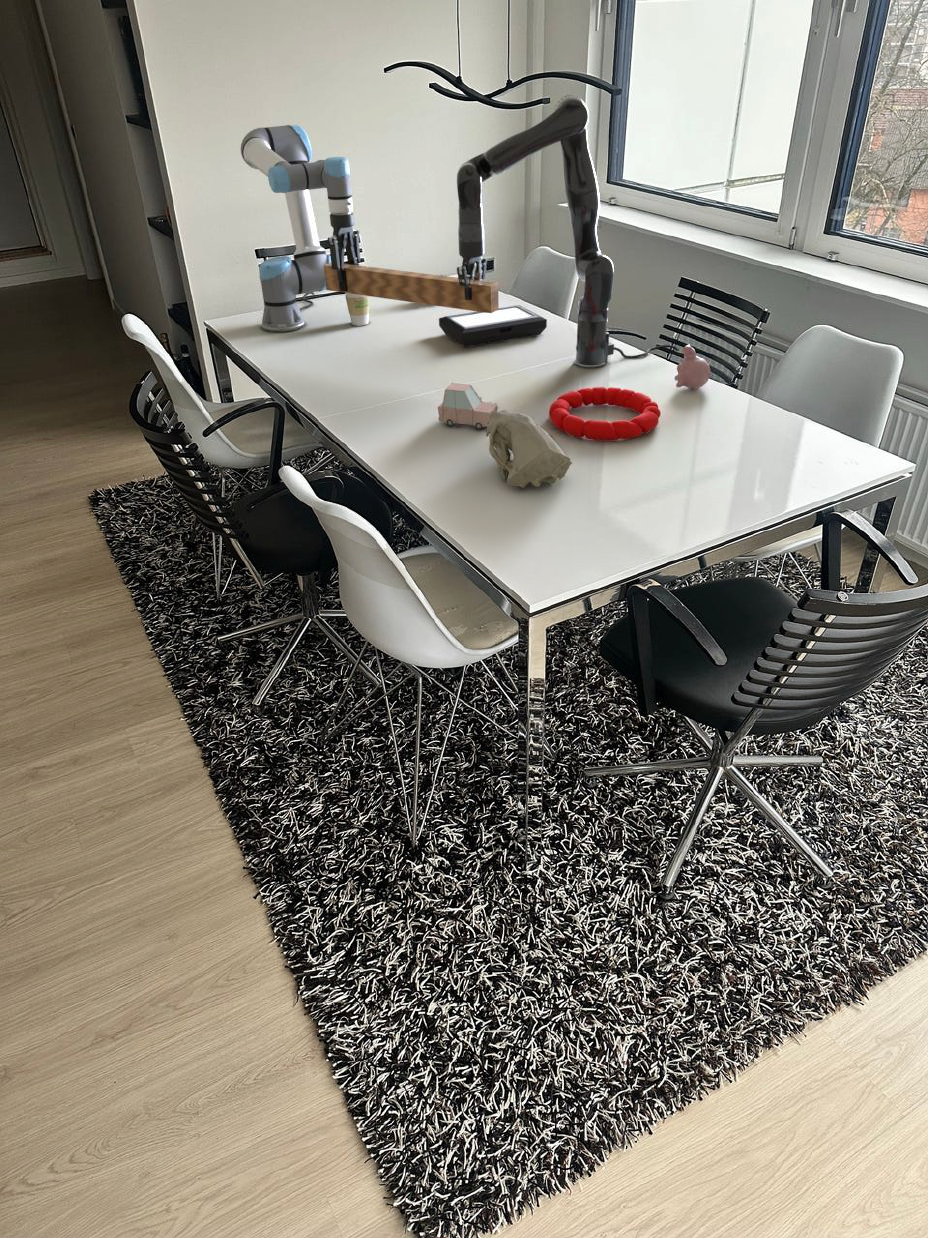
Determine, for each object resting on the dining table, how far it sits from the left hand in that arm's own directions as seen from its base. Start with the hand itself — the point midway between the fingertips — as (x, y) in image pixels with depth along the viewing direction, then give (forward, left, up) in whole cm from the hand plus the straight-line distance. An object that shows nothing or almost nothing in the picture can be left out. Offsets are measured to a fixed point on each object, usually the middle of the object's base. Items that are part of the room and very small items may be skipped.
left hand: (348, 288), depth 294 cm
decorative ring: (+85, +62, -19) cm, 107 cm away
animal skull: (+109, +33, -19) cm, 116 cm away
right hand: (+32, +36, +3) cm, 48 cm away
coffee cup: (-27, +4, -19) cm, 33 cm away
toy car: (+77, +26, -19) cm, 83 cm away
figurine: (+67, +94, -19) cm, 117 cm away
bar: (+16, +18, -1) cm, 24 cm away
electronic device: (0, +48, -19) cm, 52 cm away
